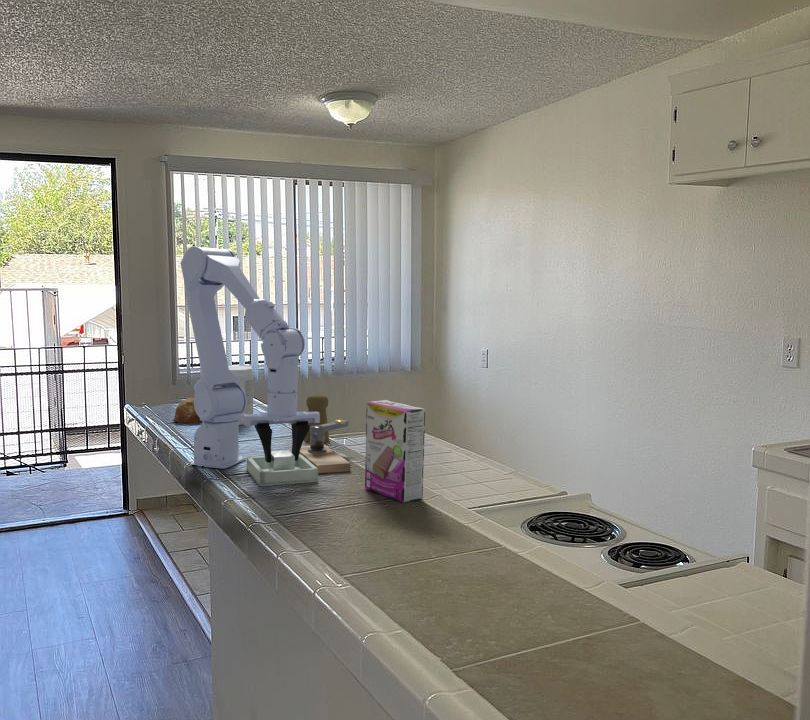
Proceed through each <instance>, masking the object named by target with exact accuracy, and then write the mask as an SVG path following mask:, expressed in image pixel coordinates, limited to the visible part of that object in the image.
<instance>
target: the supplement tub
mask: <svg viewBox="0 0 810 720" xmlns="http://www.w3.org/2000/svg"><path fill="white" fill-rule="evenodd" d="M228 367H229V370H230V371H231V372H232V373H233V374H235V375H236V376H237V377H238V378H239V379H240V383H241V386H242V388H243V390H244V391H245V393H246V396H247V407H246V409H245V411H244V412H243V413H242V414H241V418H240V419H239V426H245V425H244V415H245V414H254V372H253V370H254V369H253V367H252V366H249V365H248V366H247V365H228ZM215 388H221V387H215Z"/></svg>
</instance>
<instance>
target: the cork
mask: <svg viewBox="0 0 810 720" xmlns="http://www.w3.org/2000/svg"><path fill="white" fill-rule="evenodd" d="M305 404H306V406H307V408H308V409H307V412H318V413H320V423H314V422H312V423H308V425H310V427H311V426H318V425H322V424H327V423H328V417H327V416H328V414H327V408H328V405H329V398H328V397H327V396H326V395H324V394H320V393H319V394H318V393H317V394H316V393H315V394H310V395H308V396H307V397H306V402H305ZM329 434H330V433H329V431H327V432H324V443H328V442H330V435H329ZM303 442H306V443H310V428H309V431H308V433H307V435H306V437H305V439H304V441H303Z"/></svg>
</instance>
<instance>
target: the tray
mask: <svg viewBox="0 0 810 720" xmlns="http://www.w3.org/2000/svg"><path fill="white" fill-rule="evenodd" d="M246 470H247V472H248V473H249V474H250V475H251V477H252V478H253V480H255V482H256V484H258V485H259V486H260V487H264V486H265V487H266V486H277V485H278V486H279V485H290V484H305V483H317V482H318V483H319V473H318V468H317V467H315V466H314V465H313V464H312V463H311V462H309V461H308V460H307V459H306V458H305V457H303V456H302V455H301V454H299V457H298V461H295V470H281V471H269V463H267V462H266V461H265V455H263V456H261V455H260V456H246Z"/></svg>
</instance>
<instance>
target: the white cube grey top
mask: <svg viewBox="0 0 810 720" xmlns="http://www.w3.org/2000/svg"><path fill="white" fill-rule="evenodd" d="M281 470H295V456H294V455H293V454H292V451H290V450H273V451H272V450H271V463H269V471H281Z"/></svg>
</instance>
